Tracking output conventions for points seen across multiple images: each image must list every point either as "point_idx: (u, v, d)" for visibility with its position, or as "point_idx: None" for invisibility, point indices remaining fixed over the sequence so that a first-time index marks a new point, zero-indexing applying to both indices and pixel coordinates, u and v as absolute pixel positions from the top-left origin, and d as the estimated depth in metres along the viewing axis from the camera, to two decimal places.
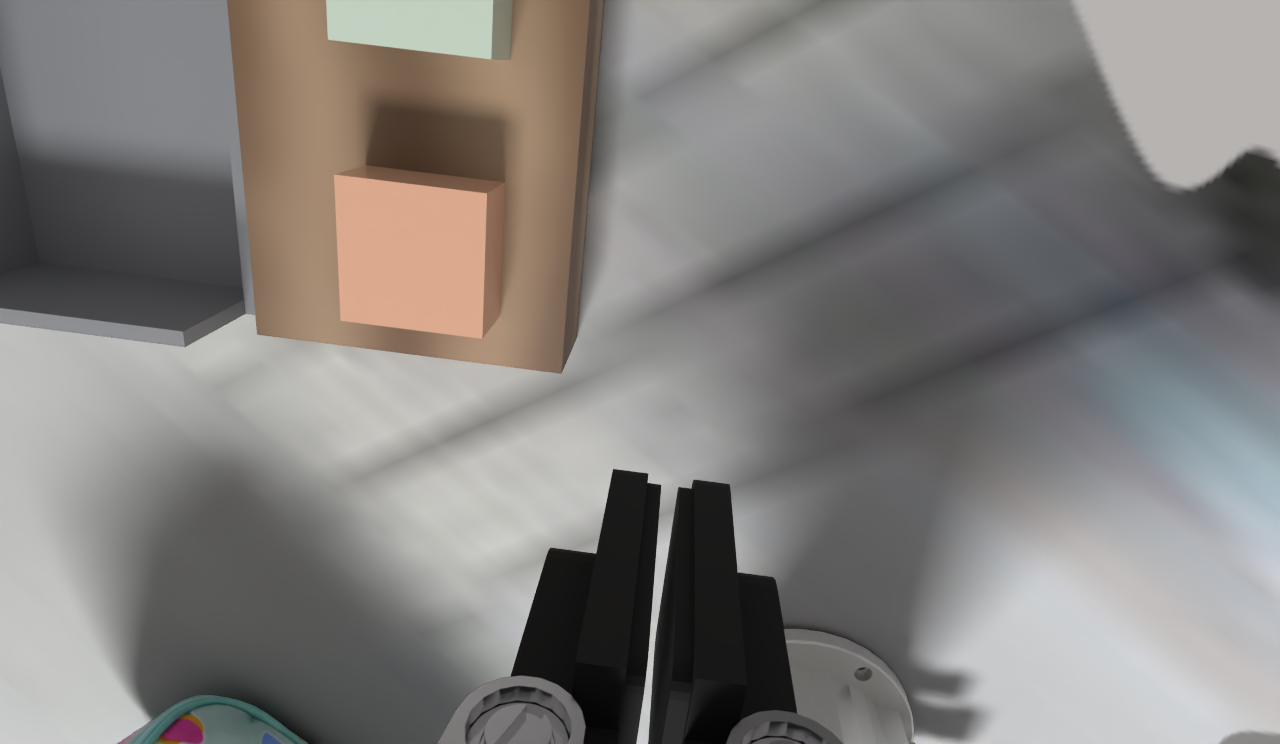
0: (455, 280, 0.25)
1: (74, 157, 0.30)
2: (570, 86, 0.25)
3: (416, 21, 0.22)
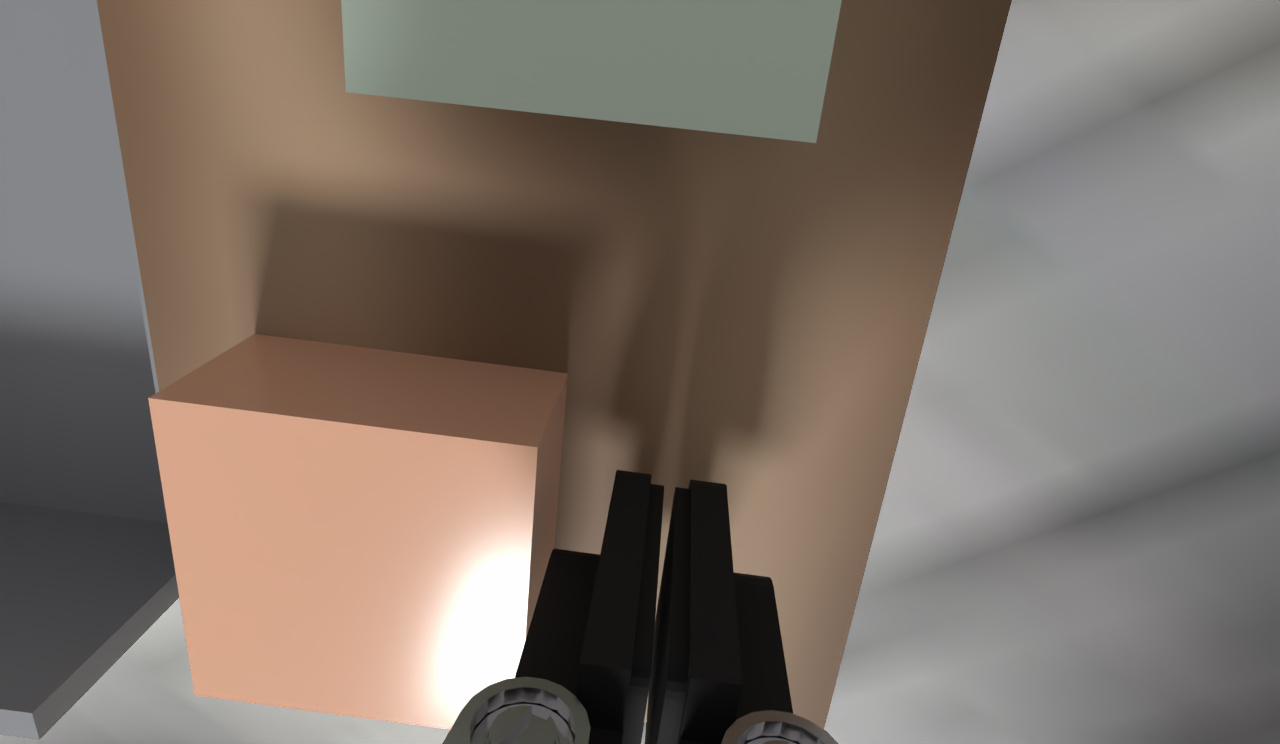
0: (456, 626, 0.11)
1: None
2: (931, 187, 0.10)
3: (605, 36, 0.08)
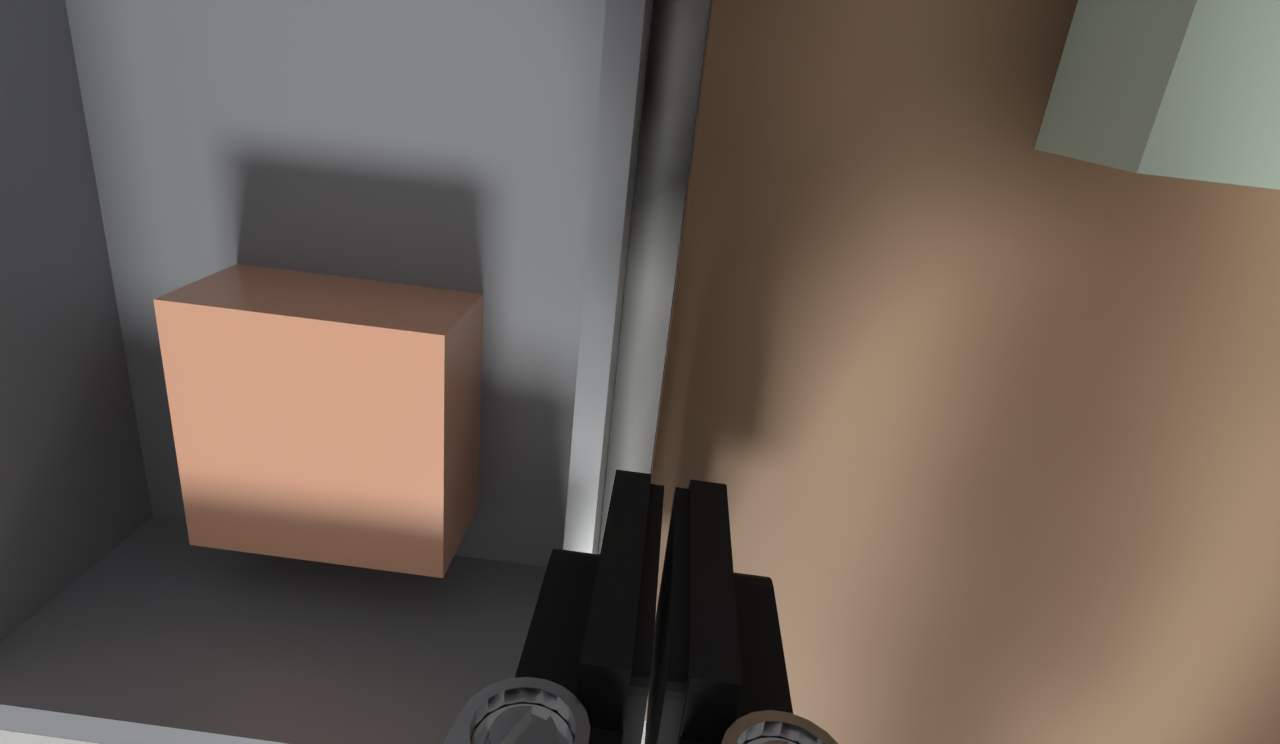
0: None
1: None
2: None
3: None
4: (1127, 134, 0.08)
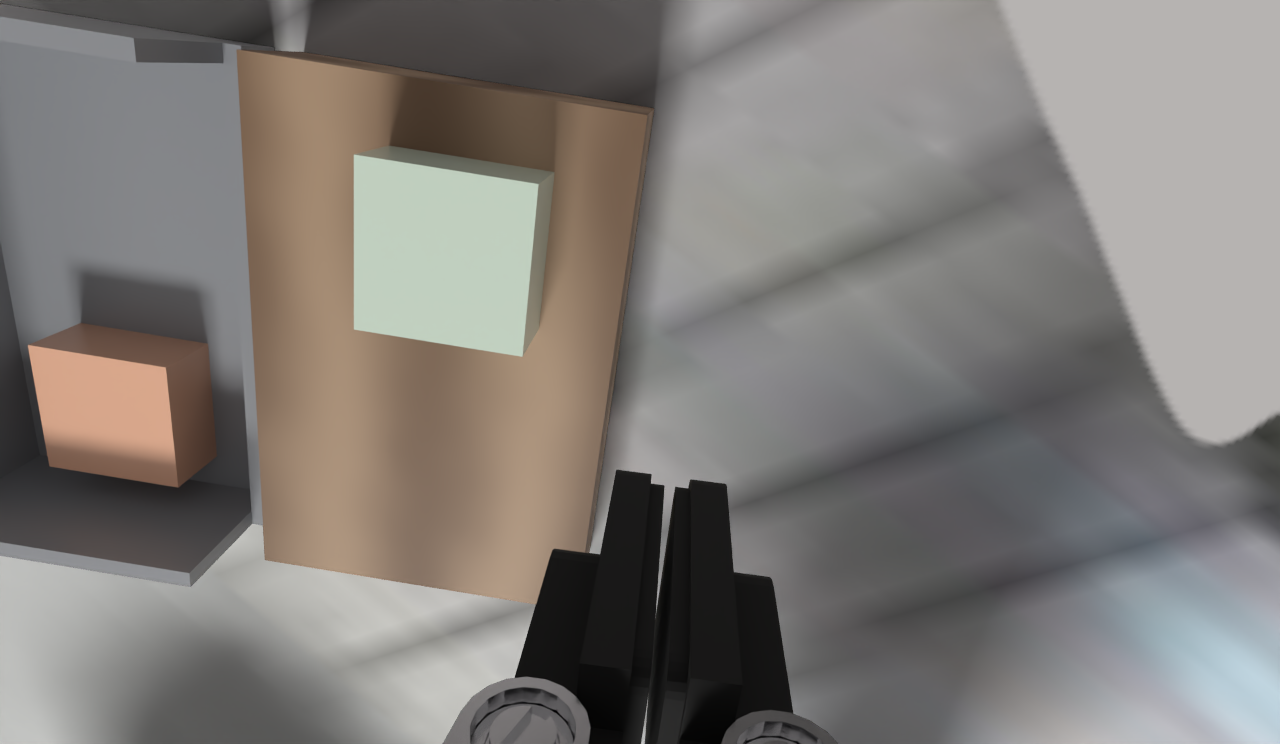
0: None
1: None
2: (599, 356, 0.24)
3: (446, 318, 0.22)
4: None
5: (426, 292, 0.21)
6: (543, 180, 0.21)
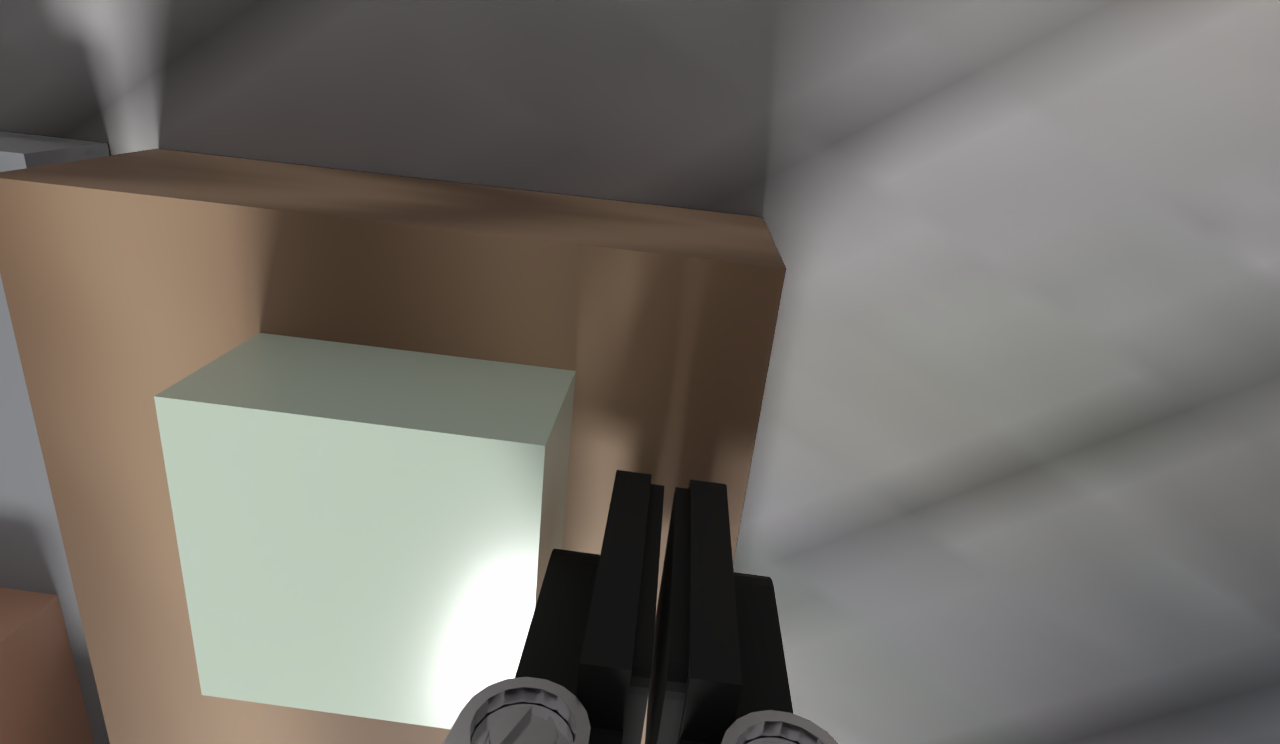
0: None
1: None
2: None
3: (376, 678, 0.11)
4: None
5: (331, 637, 0.11)
6: (555, 419, 0.10)
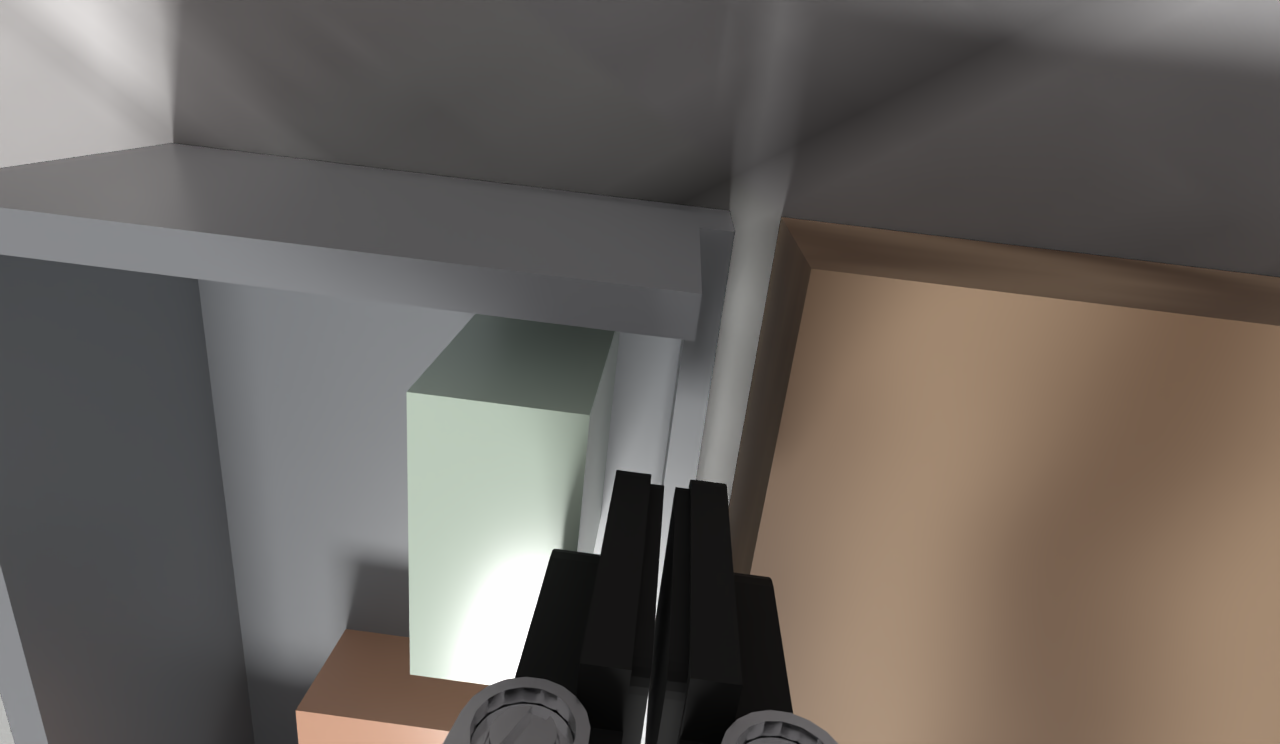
0: None
1: None
2: None
3: None
4: None
5: None
6: (463, 399, 0.10)
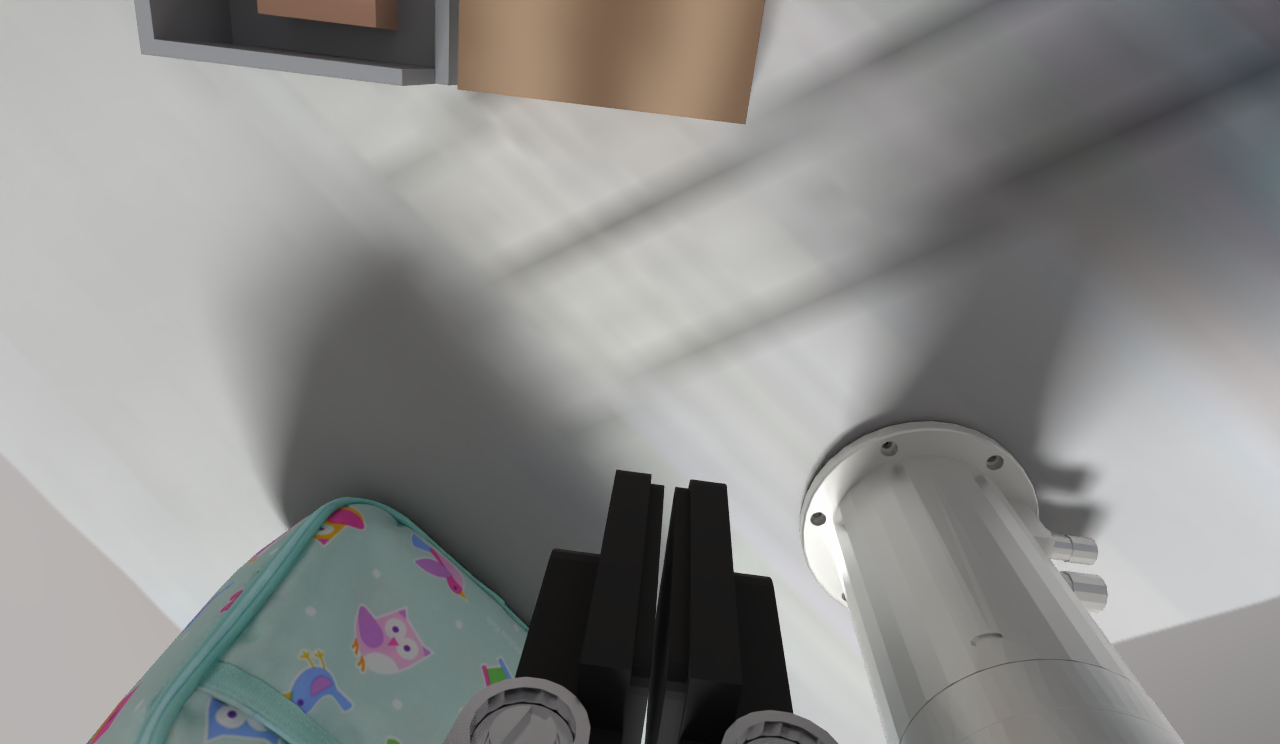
0: None
1: None
2: None
3: None
4: None
5: None
6: None
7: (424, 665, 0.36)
